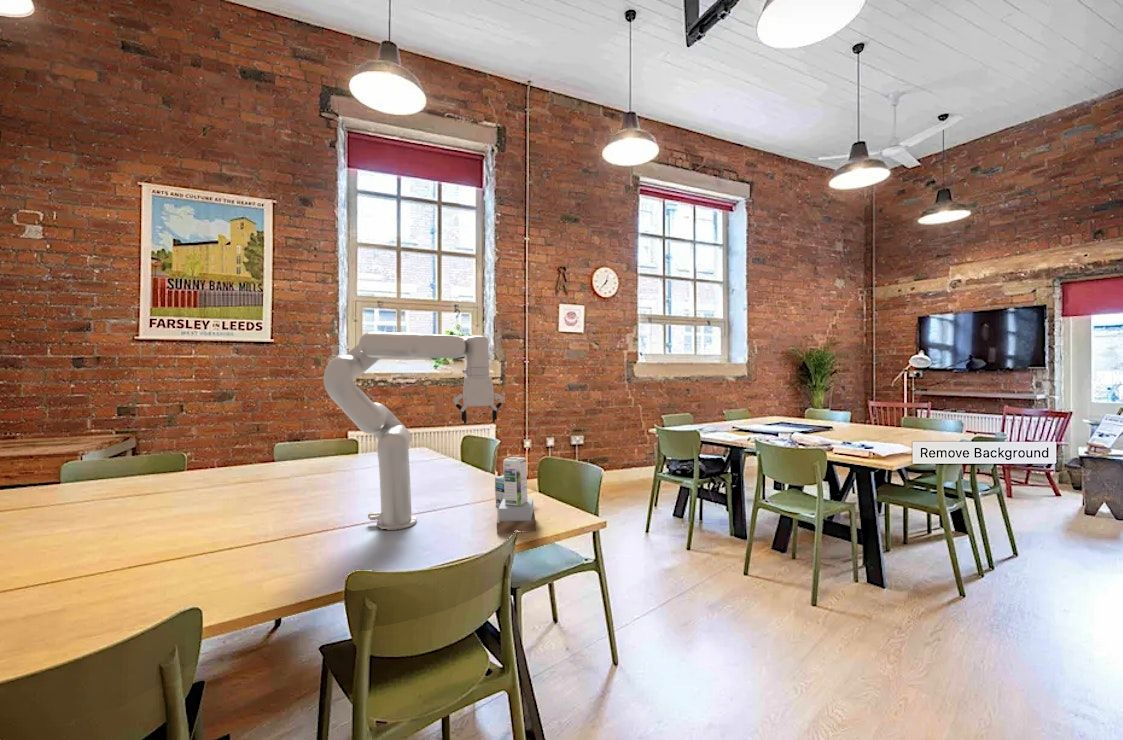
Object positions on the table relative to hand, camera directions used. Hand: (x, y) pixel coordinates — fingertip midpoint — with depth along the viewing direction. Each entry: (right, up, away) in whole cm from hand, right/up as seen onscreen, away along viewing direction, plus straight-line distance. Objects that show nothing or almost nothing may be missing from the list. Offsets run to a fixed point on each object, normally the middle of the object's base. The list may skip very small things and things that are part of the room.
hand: (479, 422), depth 169 cm
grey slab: (+13, -29, -9) cm, 33 cm away
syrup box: (+13, -25, -9) cm, 30 cm away
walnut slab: (+13, -33, -9) cm, 37 cm away
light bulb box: (+10, -32, +14) cm, 36 cm away
